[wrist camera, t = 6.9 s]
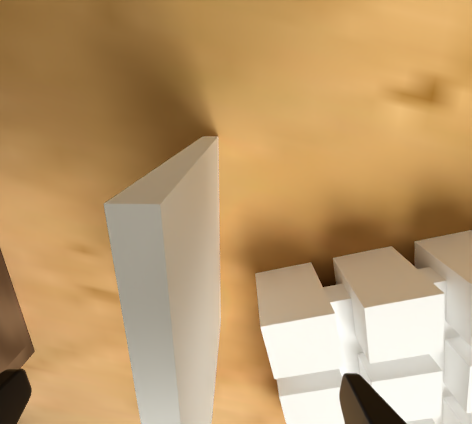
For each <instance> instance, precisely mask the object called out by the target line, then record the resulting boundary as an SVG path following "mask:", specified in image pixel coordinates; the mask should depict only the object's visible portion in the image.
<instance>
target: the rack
mask: <svg viewBox="0 0 472 424" xmlns="http://www.w3.org/2000/svg"><path fill="white" fill-rule="evenodd" d="M34 352H35V351H34V348H33V345H32V342H31V339H30V336H29V333H28V330H27V328H26V325H25V322H24V319H23V316H22V313H21V310H20V307H19V304H18V301H17V298H16V295H15V292H14V289H13V286H12V283H11V280H10V277H9V274H8V271H7V268H6V265H5V262H4V259H3V256H2V253H1V250H0V373H1V372H3V371H4V370H6V369H11V368H16V369H20V368H21V367H22V366H23V365H24V363H25V362H26V361H27V360H28V359H29V357H30V356H31V355H32V354H33V353H34Z"/></svg>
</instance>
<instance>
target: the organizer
mask: <svg viewBox="0 0 472 424" xmlns="http://www.w3.org/2000/svg"><path fill="white" fill-rule="evenodd" d="M414 249H415V267H414V266H413V265H412V264H411V263H410V262H409V261H408V260H407V259H406V258H404V257H403V256H402V255H401V254H400V253H399V252H398V251H397V250H395V249H394V248H393V247H392V246H389V247H384V248H379V249H374V250H369V251H364V252H359V253H354V254H349V255H344V256H339V257H335V258H333V265H334V272H335V279H336V285H332V286H327V287H322V284H321V282H320V280H319V278H318V276H317V274H316V272H315V270H314V268H313V265H312V263H311V262H310V263H305V264H300V265H295V266H290V267H285V268H280V269H275V270H270V271H265V272H260V273H255V277H256V287H257V297H258V308H259V318H260V327H261V331H262V335H263V339H264V342H265V346H266V350H267V353H268V357H269V361H270V365H271V368H272V372H273V376H274V379H277V385H278V392H279V398H280V402H281V406H282V409H283V413H284V417H285V421H286V424H345V422H344V418H343V413H342V409H341V405H340V400H339V392H340V387H341V382H342V377H343V375H344V374H345V373H357V374H359V375H361V376H362V377H363V378H364V379H365V380H366V381H367V382H368V383H369V384H370V386H371V387H372V388H373V389H374V390H375V391H376V392H377V393H378V394H379V395H380V396H381V397H382V398H383V399H384V400H385V401H386V402H387V403H388V404H389V405H390V406H391V407H392V409H393V410H394V411H395V412H396V413H397V414H398V415H399V416H400V417H401V418H402V419H403V420H404V421H405V422H406V423H407V424H472V230H469V231H464V232H459V233H454V234H449V235H444V236H439V237H434V238H429V239H424V240H419V241H414Z"/></svg>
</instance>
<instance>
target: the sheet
mask: <svg viewBox="0 0 472 424" xmlns="http://www.w3.org/2000/svg"><path fill="white" fill-rule="evenodd" d="M104 209H105V215H106V221H107V227H108V232H109V238H110V244H111V250H112V256H113V262H114V268H115V274H116V279H117V285H118V291H119V297H120V303H121V309H122V315H123V321H124V326H125V332H126V338H127V344H128V350H129V356H130V362H131V368H132V373H133V379H134V385H135V391H136V397H137V403H138V409H139V414H140V420H141V424H212V413H213V402H214V391H215V380H216V369H217V358H218V347H219V336H220V325H221V291H220V217H219V143H218V136H202V137H201V138H199V139H198V140H197V141H195V142H194V143H192V144H191V145H189V146H188V147H186V148H185V149H183V150H182V151H180V152H179V153H177V154H176V155H174V156H173V157H172V158H170V159H169V160H167V161H166V162H164V163H163V164H161V165H160V166H158V167H157V168H155V169H154V170H152V171H151V172H149V173H148V174H147V175H145V176H144V177H142V178H141V179H139V180H138V181H136V182H135V183H133V184H132V185H130V186H129V187H127V188H126V189H124V190H123V191H121V192H120V193H119V194H117V195H116V196H114V197H113V198H111V199H110V200H108V201H107V202H105V203H104Z"/></svg>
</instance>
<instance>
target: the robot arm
mask: <svg viewBox="0 0 472 424" xmlns="http://www.w3.org/2000/svg"><path fill="white" fill-rule="evenodd" d="M30 396H31V385H30V383H29V380H28V377H27V374H26V372H25V370H24V369H16V368H11V369H6V370H4V371H3V372H1V373H0V424H17V422H18V420H19V418H20V416H21V414H22V413H23V411H24V409H25V407H26V405H27V403H28V401H29V398H30ZM339 400H340V405H341V409H342V413H343V418H344V422H345V424H407V423H406V422H405V421H404V420H403V419H402V418H401V417H400V416H399V415H398V414H397V413H396V412H395V411H394V410H393V409H392V407H391V406H390V405H389V404H388V403H387V402H386V401H385V400H384V399H383V398H382V397H381V396H380V395H379V394H378V393H377V392H376V391H375V390H374V389H373V388H372V387H371V386H370V384H369V383H368V382H367V381H366V380H365V379H364V378H363V377H362V376H361V375H359V374H357V373H345V374H344V375H343V377H342V382H341V387H340V392H339Z"/></svg>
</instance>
